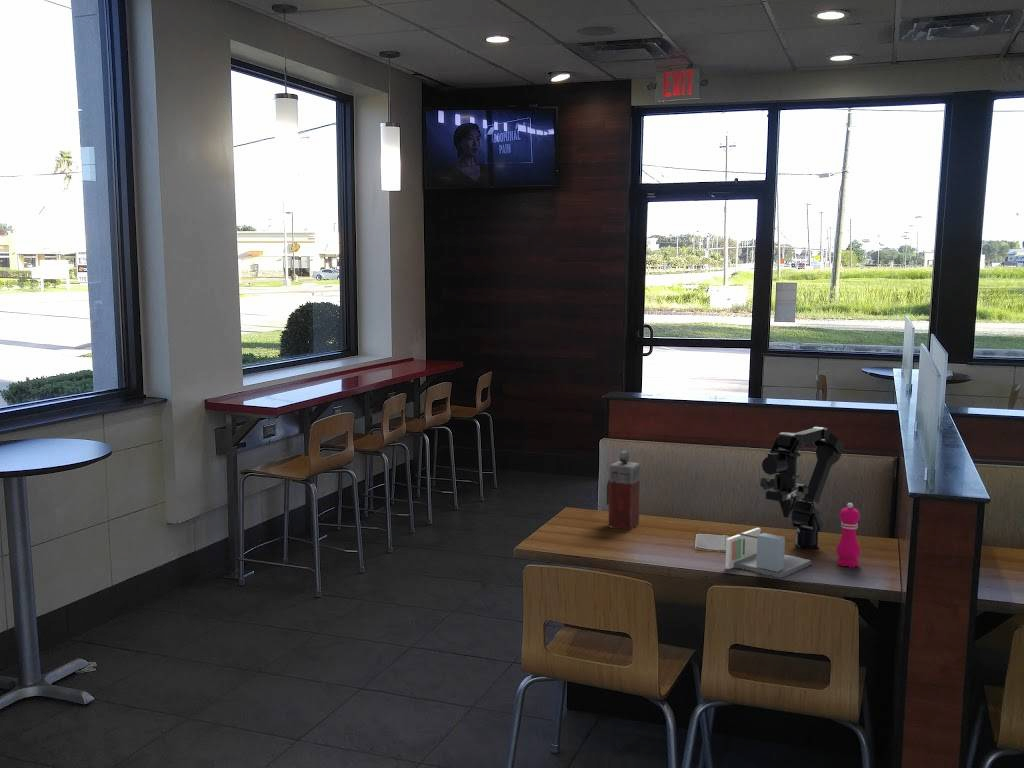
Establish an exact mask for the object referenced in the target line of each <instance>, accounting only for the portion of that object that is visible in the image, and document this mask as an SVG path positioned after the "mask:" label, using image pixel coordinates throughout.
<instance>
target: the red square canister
mask: <svg viewBox="0 0 1024 768" xmlns="http://www.w3.org/2000/svg"><path fill="white" fill-rule="evenodd" d="M608 469H609V471H608V473H609V474H608V481H607V484H606V505H607V506H608V526H612V527H618V528H617V529H620V528H624V529H623V530H628V529H632V528H633V529H635V528H636V527H638V526H639V525H640V485H641V484H640V481H641V478H640V477H641V470H640V469H641V465H640V463H639V462H632V461H630V453H629V451H626V450H622V451H620V455H619V460H618V461H616V462H614V463H611V464H610V465H609V466H608ZM638 524H639V525H638ZM637 525H638V526H637ZM635 526H636V527H635ZM612 527H611V528H612ZM634 527H635V528H634ZM633 529H632V530H633Z"/></svg>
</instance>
